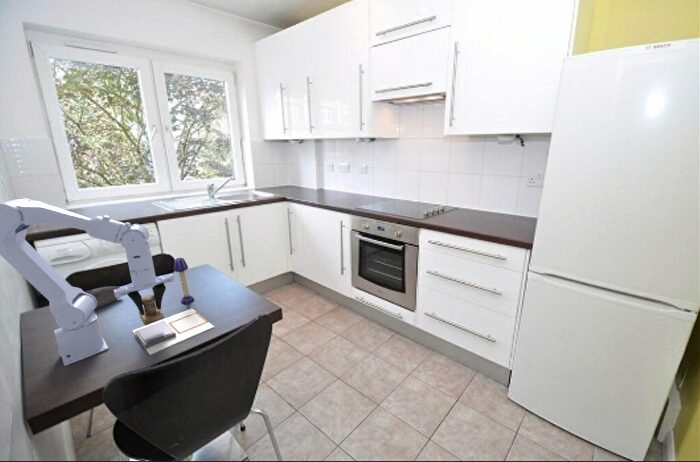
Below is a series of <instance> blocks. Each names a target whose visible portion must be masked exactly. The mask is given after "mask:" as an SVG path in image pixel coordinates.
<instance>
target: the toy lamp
mask: <svg viewBox="0 0 700 462" xmlns="http://www.w3.org/2000/svg"><path fill="white" fill-rule="evenodd" d="M188 269H189V266H188V264H187V262H186V260H185V258H184V257H178V258H175V259H174V261H173V271H174V273H178V274H179V277H180V282H181V283H180V284H181V286H182V287H181V288H182V293H183V296H182V298H181V300H180V302H181V304H184V305H186V304H191V303H193V302H194V301H195V299H194V296H193V295H190V293H189V288H188V283H187V278H186V273H185V272H186V271H187V270H188Z"/></svg>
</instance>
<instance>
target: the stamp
mask: <svg viewBox="0 0 700 462" xmlns="http://www.w3.org/2000/svg"><path fill="white" fill-rule="evenodd" d="M155 301H156V297H155V296H154V294H148V295H145V296H142V305H143V309H144V312H145V315H143V316H142V315H141V314H140V312H139V311H138V314H139V318H140V319H141V321H142V323H143V324H144V325H143V326H146V325H149V324H151V323H154V322H157V321H160V320H162V319H165V316H164V312H163V310H162V308H161V309H160V310H158V309H157V308H156V304H155Z"/></svg>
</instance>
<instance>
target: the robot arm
mask: <svg viewBox="0 0 700 462" xmlns="http://www.w3.org/2000/svg"><path fill="white" fill-rule="evenodd" d="M40 223H41V224H42V223H49V224H54V225H59V226H64V227H66V228H67V227H68V228H72V229H77V230H82V231H85V232H86V233H87V235H88V236H89V237H90V238H95V239H99V240H101V241H106V242H110V243H113V244H114V243H115V244H118V245H119V244H120V246H121V247H122V248H124V249H125V252H126V260H127V263H128V265H127V266H128V268H129V274H130V278H131V283H129V284H127V285H124V286H122V287H120V288H119V289H115V290H113V291H114V295H115V297H116V298H119V299H120V298H121V297H124V296H126V295H127V296H128V297H129V298H130V299H131V301H132V302H133V303H134V304H135V306H136V307H137V309H138V313H139V312H140V314H141V315H142V316H143V315H145V312H144V306H143V305H142V298H143V296H142V295H141V294H140V292H141V291H143V290H149V289H152V293H153V295H154V296H155V297H156V301H155V306H156V308H157V309H158V310H160V309H161V310H162V303H163V297H164V293H165V292H166V288H167V287H166V285H165V284H167V283H173V282H175V278H174V275H173V274H172V273H169V274H164V275H159V276H156V271H155V266H154V261H153V256H152V251H151V249H150V243H149V241H148V240H149V239H150V231H149V230H148V228H147V227H146V226H143V225H141V224H139V223H134V224H131V223H130V222H127V221H126V222H122V221H118V220H114V219H111V216H109V215H103V216H100V215H98V216H95V217H92V218H90V217H87V216H84V215H82V214H78V213H75V212H72V211H68V210H65V209H62V208H60V207H56V206H53V205H49V204H47V203H45V202H42V201H40V200H31V199H29V198H25V197H15V198H11V199H9V200H7V201H3V202H0V256H1V257H2V258H3V259H4V260H5V261H7V263H8V264H10V266H11V267H13V268H14V269H15V271H17V272H18V273H19V274H20V275H21V276H22V277H23V278H24V279H25V280H26V281H27V282H29V283H30V285H32V286H33V287H34V288H35V289H36V290H37V292H39V293H40V294H41V295H43V297H45V299H46V300H47V301H48V302H49V312H50V313H51V314H52V315H53V317H54V318H55V322H56V324H57V325H58V326H59V328H57V329H54V331H53V333H54V336H55V339H56V343H57V347H58V350H57V352H58V355H59V357H61V360H62V363H63V365H64V366H69V365H71V364H73V363H76V362H79V361H82V360H84V359H86V358H90V357H92V356H94V355H98V354H99V353H102V352H105V351H107V350H109V346H108V345H107V343H106V341H105V339H104V337H103V335H102V331H101V327H100V323H99V320H98V316H97V314H96V312H95V310H96V309H95V308H96V306H97V300H96V298H95V297H94V296H92V295H90V294H87V293H85V291H84V290H83V289H82V288H80V287H77V286H76V287H75V286H72V285H71V284H70V283H69V282H68V281H67V280H66V279H65V278H64V277H63V276H62V275H61V274H60V273H59V272H58V271H57V270H55V268H54V267H53V266H52V265H51V264H50V263H49V262H48V261H47V260H46V259H45V258H44V257H43V256H42V255H41V254H40V253H39V251H37V250H36V249H35V248H34V247H33V246H32V245H31V244H30V243H29V242H28V241H27V240H26V236H27V233H28V229H29V228H30V226H31V225H37V224H40ZM139 291H140V292H139Z"/></svg>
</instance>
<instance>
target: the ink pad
mask: <svg viewBox="0 0 700 462" xmlns="http://www.w3.org/2000/svg"><path fill="white" fill-rule="evenodd" d="M135 335H136V336H137V337H136V336H135ZM134 336H135V337H136V339H139V340H140V341H139V340H138V341H139V342H140V343H142V344H143V345H142V344H141V345H142V347H143V348H144V347H145V348H146V349H147V348H149V347H152V346H154V345H156V344H159V343H161V342H164V341H166V340H168V339H171V338H173V337H176V333H175V332H174V331H173V330H172V329H171V328H170V327H169V326H168V324H167V323H166V322H165V321H162V322H159V323H156V324H154V325H151V326H148V327H145V328H143V329H140V330H137V331H135V334H134ZM145 348H144V349H145ZM146 349H145V350H146Z"/></svg>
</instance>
